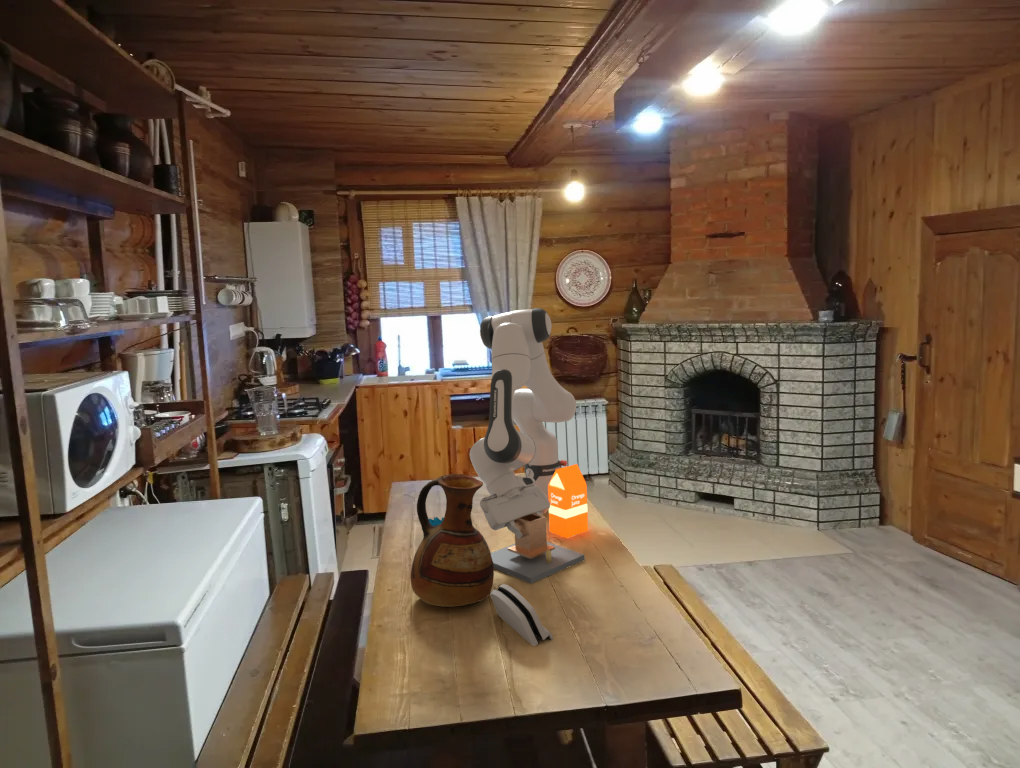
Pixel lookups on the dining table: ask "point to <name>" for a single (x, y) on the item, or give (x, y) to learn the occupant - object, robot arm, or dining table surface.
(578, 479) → the orange juice
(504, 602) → the half-moon napkin holder
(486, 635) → the dining table surface
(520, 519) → the copper sleeve
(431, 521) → the gear
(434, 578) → the ceramic pitcher
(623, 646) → the dining table surface
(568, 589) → the dining table surface
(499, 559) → the base plate
